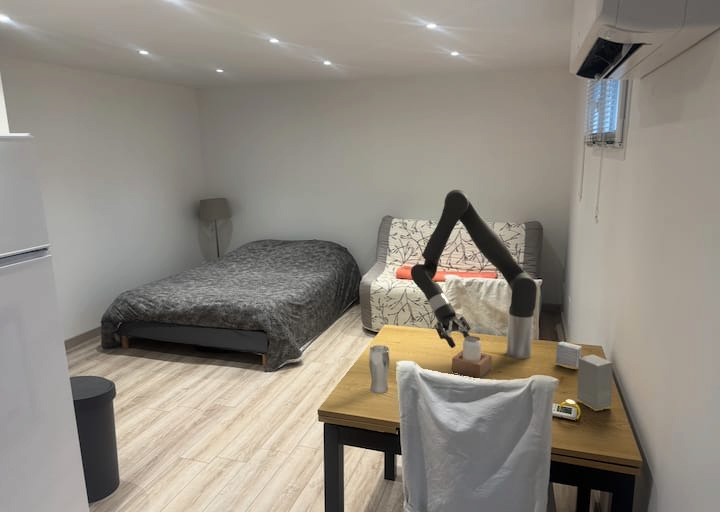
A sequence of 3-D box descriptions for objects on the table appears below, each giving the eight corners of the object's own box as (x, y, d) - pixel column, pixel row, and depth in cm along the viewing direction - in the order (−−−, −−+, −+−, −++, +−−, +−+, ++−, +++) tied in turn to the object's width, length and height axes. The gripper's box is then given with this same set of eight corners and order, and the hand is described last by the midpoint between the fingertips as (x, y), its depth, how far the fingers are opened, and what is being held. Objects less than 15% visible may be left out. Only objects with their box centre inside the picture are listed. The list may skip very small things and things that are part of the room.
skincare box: (611, 409, 159) (616, 362, 156) (593, 413, 157) (598, 366, 153) (590, 397, 167) (595, 352, 164) (573, 401, 164) (578, 355, 161)
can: (480, 373, 182) (481, 342, 180) (461, 372, 184) (463, 341, 181) (479, 366, 189) (481, 336, 186) (462, 364, 190) (463, 335, 188)
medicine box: (580, 367, 190) (582, 346, 188) (576, 371, 187) (578, 349, 185) (559, 361, 195) (561, 340, 194) (555, 365, 192) (556, 344, 191)
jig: (463, 363, 194) (464, 348, 193) (490, 370, 188) (491, 355, 186) (451, 373, 185) (452, 358, 184) (479, 380, 179) (480, 365, 178)
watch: (579, 420, 153) (582, 402, 152) (578, 424, 151) (581, 406, 150) (558, 414, 156) (561, 396, 155) (557, 418, 154) (560, 400, 152)
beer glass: (382, 396, 168) (383, 354, 165) (365, 391, 171) (365, 349, 168) (392, 388, 173) (393, 347, 170) (375, 383, 177) (375, 343, 174)
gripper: (433, 306, 189) (453, 344, 182) (460, 300, 197) (480, 336, 190) (423, 315, 194) (443, 353, 187) (449, 309, 202) (469, 345, 195)
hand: (461, 344), depth 189 cm, fingers open, 8 cm apart
